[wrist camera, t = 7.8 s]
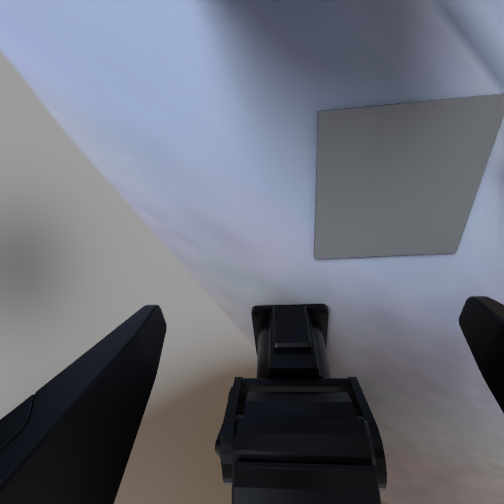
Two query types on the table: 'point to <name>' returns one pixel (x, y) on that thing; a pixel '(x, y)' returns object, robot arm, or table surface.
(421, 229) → the mat
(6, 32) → the table surface
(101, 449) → the robot arm
